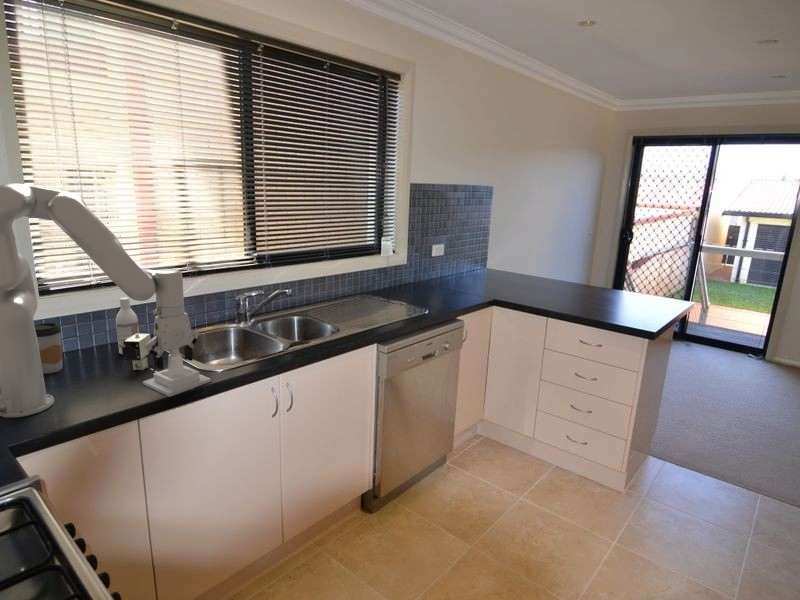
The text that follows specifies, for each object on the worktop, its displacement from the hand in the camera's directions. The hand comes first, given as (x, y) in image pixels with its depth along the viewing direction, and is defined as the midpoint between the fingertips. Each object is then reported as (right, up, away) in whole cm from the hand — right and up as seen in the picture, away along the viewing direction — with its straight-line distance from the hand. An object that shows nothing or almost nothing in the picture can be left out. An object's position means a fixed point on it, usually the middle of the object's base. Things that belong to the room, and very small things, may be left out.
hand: (174, 363), depth 151 cm
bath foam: (-28, +1, +26) cm, 38 cm away
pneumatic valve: (-17, -3, +12) cm, 21 cm away
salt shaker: (0, -5, +2) cm, 6 cm away
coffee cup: (-44, -3, +8) cm, 45 cm away
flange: (0, -6, +2) cm, 6 cm away
